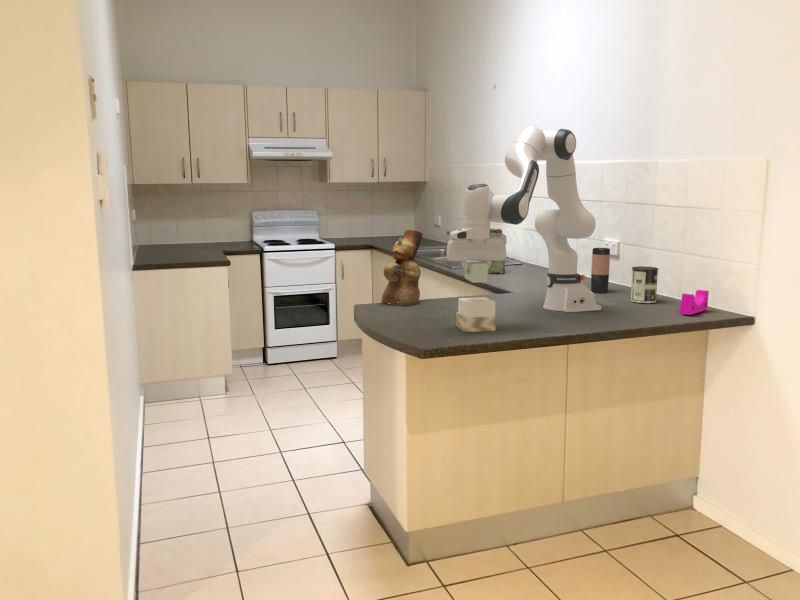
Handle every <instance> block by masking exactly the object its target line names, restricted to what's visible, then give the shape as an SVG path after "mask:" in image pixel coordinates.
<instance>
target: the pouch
mask: <svg viewBox="0 0 800 600" xmlns="http://www.w3.org/2000/svg"><path fill="white" fill-rule="evenodd" d="M490 233H502V234H503V230H502V229H501V228H497V229H496V228H490ZM484 263H486V261H484ZM486 264H487V263H486ZM505 267H506V264H505V260H493V261H492V263H491V265H490V267H489V269H488V275H490V274H497V275H498V274H499V275H504V274H505V273H506V268H505Z"/></svg>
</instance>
